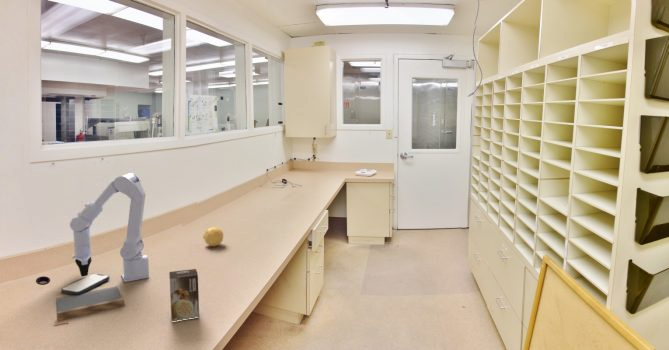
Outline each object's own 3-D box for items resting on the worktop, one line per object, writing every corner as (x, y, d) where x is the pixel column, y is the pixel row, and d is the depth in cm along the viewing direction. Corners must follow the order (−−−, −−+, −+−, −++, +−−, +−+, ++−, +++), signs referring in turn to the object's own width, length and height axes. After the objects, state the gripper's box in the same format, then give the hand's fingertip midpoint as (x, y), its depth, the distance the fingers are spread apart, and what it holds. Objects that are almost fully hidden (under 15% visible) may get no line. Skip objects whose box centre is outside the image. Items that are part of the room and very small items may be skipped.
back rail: (124, 304, 147) (123, 297, 146) (124, 305, 145) (124, 299, 145) (57, 318, 135) (57, 311, 134) (58, 320, 134) (57, 313, 133)
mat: (117, 286, 161) (116, 285, 160) (124, 304, 147) (124, 303, 146) (56, 298, 149) (56, 297, 149) (57, 319, 135) (57, 317, 135)
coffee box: (197, 310, 144) (197, 268, 142) (199, 319, 138) (198, 275, 136) (170, 314, 141) (169, 271, 138) (170, 323, 135) (169, 278, 132)
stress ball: (214, 243, 217) (199, 233, 213) (226, 230, 217) (212, 220, 213) (214, 253, 208) (199, 242, 204) (227, 239, 208) (212, 228, 204)
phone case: (78, 296, 151) (111, 279, 166) (78, 292, 150) (111, 275, 166) (59, 293, 153) (93, 276, 168) (59, 289, 153) (93, 273, 168)
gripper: (69, 240, 168) (71, 271, 170) (71, 251, 157) (74, 284, 159) (89, 238, 172) (91, 268, 174) (92, 248, 161) (94, 280, 163)
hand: (84, 275), depth 167 cm, fingers closed
